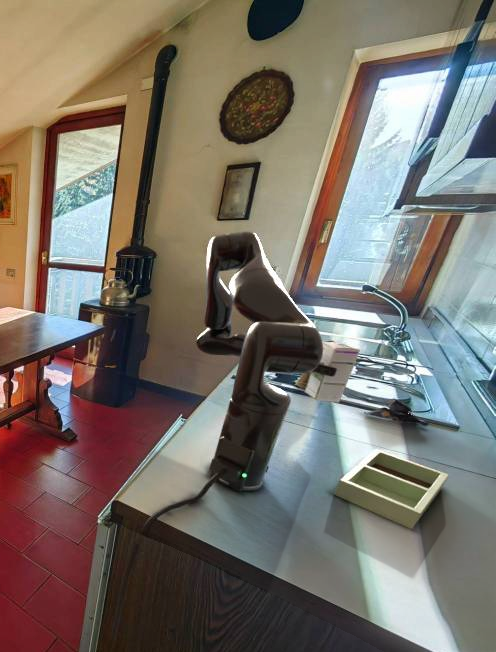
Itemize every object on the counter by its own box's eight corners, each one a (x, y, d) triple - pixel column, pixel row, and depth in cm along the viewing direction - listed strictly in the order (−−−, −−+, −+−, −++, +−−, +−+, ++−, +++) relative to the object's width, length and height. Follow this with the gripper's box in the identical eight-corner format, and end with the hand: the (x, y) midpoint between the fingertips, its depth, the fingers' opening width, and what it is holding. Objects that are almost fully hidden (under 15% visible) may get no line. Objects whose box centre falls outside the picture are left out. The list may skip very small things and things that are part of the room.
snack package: (366, 406, 115) (360, 417, 108) (379, 388, 112) (375, 398, 105) (419, 427, 108) (418, 440, 101) (436, 408, 105) (435, 420, 98)
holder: (411, 529, 69) (420, 513, 67) (333, 494, 77) (339, 479, 76) (441, 488, 79) (449, 474, 78) (369, 462, 88) (375, 448, 87)
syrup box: (340, 403, 100) (362, 349, 94) (314, 400, 101) (335, 347, 95) (326, 394, 105) (347, 342, 100) (302, 392, 106) (321, 341, 101)
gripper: (263, 343, 106) (337, 360, 93) (286, 336, 113) (357, 351, 101) (254, 368, 109) (325, 388, 96) (277, 360, 116) (346, 378, 103)
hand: (341, 369), depth 98 cm, fingers closed on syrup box, 8 cm apart
